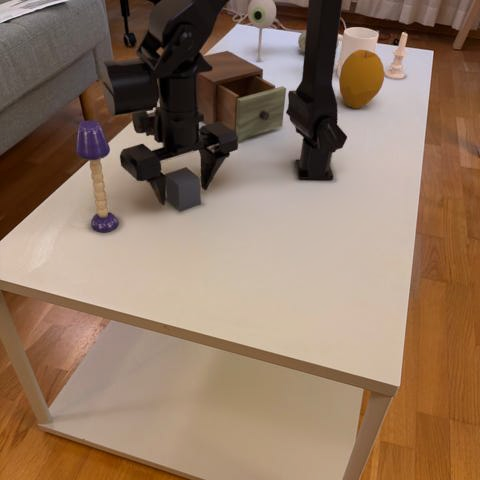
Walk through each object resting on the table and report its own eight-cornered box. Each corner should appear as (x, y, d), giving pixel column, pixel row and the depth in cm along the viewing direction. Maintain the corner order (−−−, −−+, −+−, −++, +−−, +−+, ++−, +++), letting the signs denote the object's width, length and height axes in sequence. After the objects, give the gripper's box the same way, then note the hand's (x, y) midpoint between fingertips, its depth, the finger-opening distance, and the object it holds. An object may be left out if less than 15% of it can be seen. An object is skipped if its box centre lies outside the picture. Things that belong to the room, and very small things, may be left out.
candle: (404, 72, 129) (416, 29, 122) (403, 80, 126) (416, 35, 118) (384, 70, 130) (395, 26, 122) (383, 77, 126) (394, 32, 119)
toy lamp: (123, 217, 80) (108, 116, 68) (119, 234, 77) (102, 132, 65) (93, 216, 80) (73, 116, 68) (88, 234, 77) (66, 131, 65)
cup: (364, 85, 122) (373, 40, 115) (318, 75, 125) (325, 31, 118) (372, 74, 128) (382, 31, 120) (328, 65, 131) (335, 22, 123)
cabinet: (259, 115, 108) (263, 69, 101) (213, 129, 103) (213, 81, 96) (226, 94, 115) (227, 50, 108) (180, 107, 110) (178, 61, 103)
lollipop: (242, 63, 129) (245, -3, 118) (249, 54, 134) (253, -10, 123) (268, 67, 128) (273, 1, 117) (274, 58, 133) (280, -7, 122)
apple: (385, 107, 114) (398, 52, 105) (358, 118, 109) (370, 62, 101) (352, 93, 119) (363, 39, 110) (325, 103, 114) (335, 48, 106)
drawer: (286, 128, 103) (290, 90, 97) (242, 142, 98) (244, 103, 92) (248, 106, 109) (250, 69, 104) (206, 118, 104) (206, 80, 99)
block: (200, 204, 84) (200, 177, 80) (179, 211, 82) (178, 185, 78) (187, 192, 86) (186, 166, 82) (166, 200, 84) (164, 173, 81)
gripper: (201, 73, 80) (202, 161, 92) (95, 98, 72) (111, 191, 83) (242, 97, 74) (238, 188, 86) (132, 128, 66) (144, 223, 78)
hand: (183, 196), depth 83 cm, fingers open, 8 cm apart
